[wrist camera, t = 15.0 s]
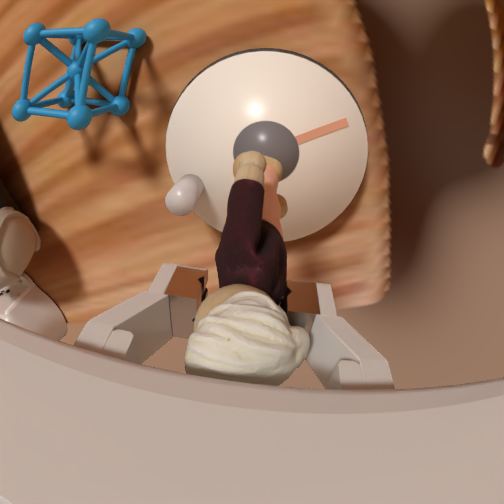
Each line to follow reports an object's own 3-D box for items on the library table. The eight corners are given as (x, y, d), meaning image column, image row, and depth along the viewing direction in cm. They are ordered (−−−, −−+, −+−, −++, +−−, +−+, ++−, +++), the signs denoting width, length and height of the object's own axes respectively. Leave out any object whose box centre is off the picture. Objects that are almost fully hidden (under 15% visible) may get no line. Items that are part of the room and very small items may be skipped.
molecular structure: (79, 28, 23) (21, 23, 14) (152, 30, 23) (104, 16, 15) (63, 105, 28) (7, 123, 19) (131, 116, 29) (80, 134, 20)
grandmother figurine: (207, 146, 16) (73, 289, 5) (274, 125, 15) (261, 242, 4) (250, 259, 20) (219, 454, 9) (309, 245, 19) (330, 446, 8)
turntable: (224, 258, 35) (216, 288, 30) (139, 109, 26) (112, 117, 22) (385, 200, 29) (403, 223, 25) (317, 25, 21) (327, 12, 16)
